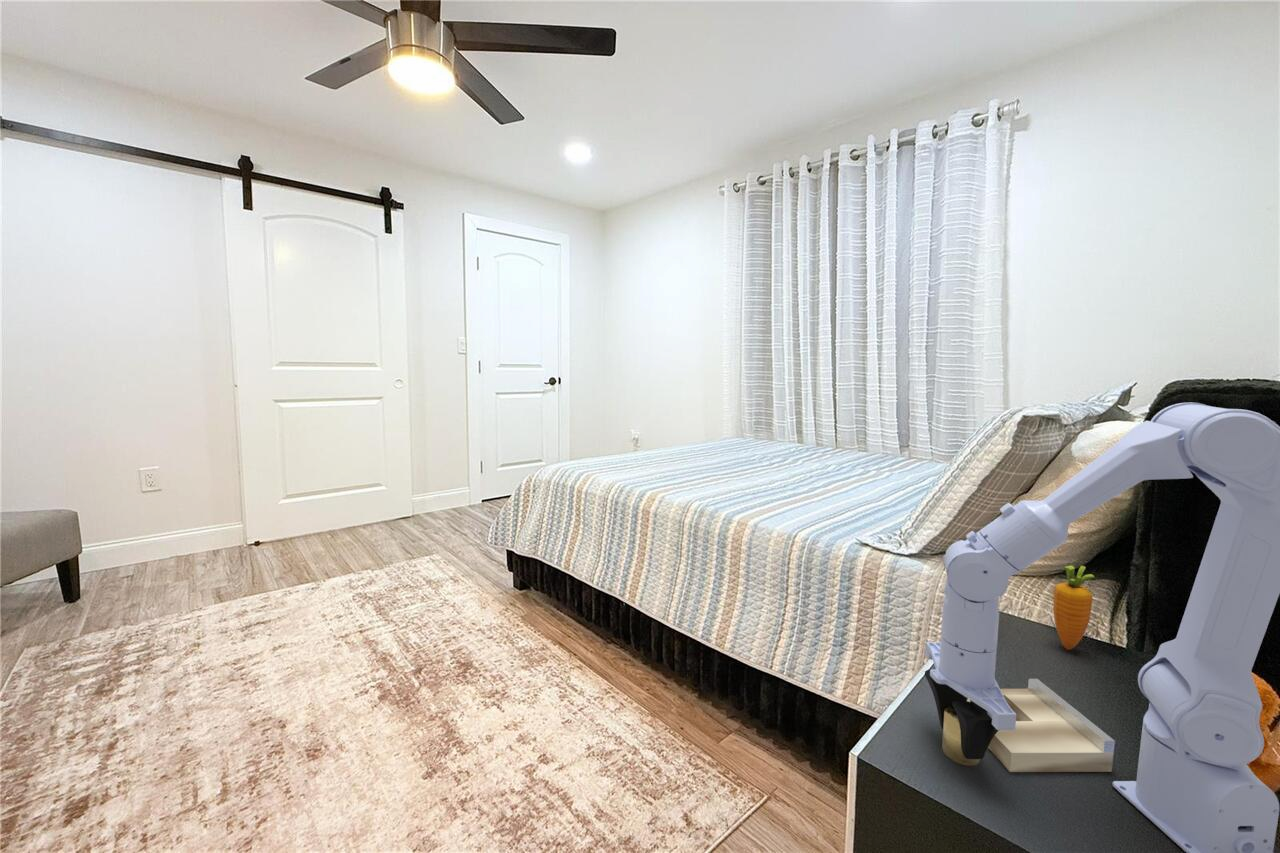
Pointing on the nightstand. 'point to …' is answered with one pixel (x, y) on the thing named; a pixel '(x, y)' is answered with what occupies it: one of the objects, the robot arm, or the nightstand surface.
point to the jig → (1050, 735)
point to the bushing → (954, 738)
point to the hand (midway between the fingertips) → (961, 742)
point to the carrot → (1072, 607)
